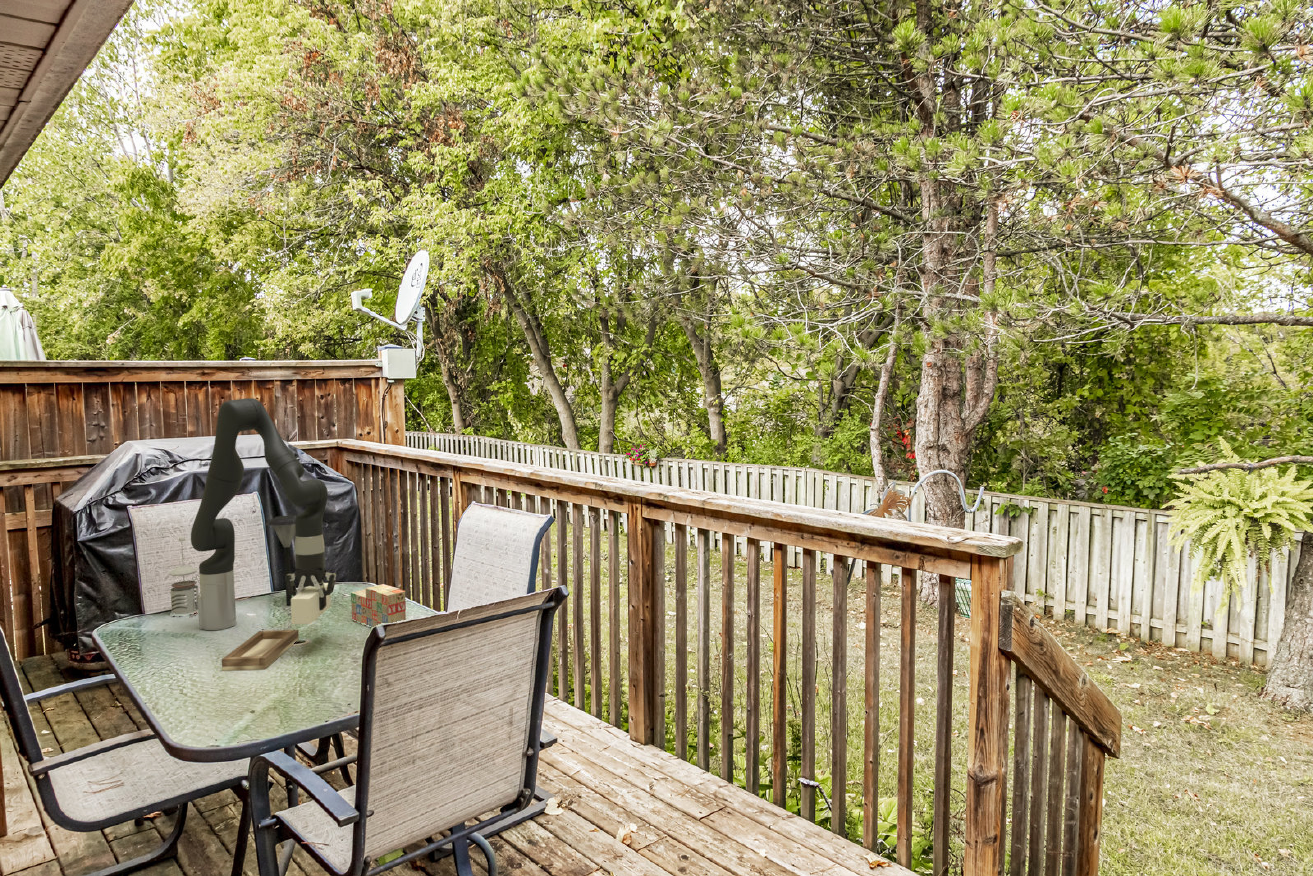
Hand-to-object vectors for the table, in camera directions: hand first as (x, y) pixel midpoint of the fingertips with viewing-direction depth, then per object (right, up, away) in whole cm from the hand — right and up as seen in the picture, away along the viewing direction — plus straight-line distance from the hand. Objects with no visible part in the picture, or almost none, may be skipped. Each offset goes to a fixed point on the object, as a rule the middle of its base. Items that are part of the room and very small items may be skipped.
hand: (311, 609), depth 223 cm
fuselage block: (0, -2, 0) cm, 2 cm away
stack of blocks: (+12, -10, +20) cm, 25 cm away
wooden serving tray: (-11, -11, -5) cm, 17 cm away
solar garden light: (-26, -8, +42) cm, 50 cm away
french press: (-55, -9, +34) cm, 66 cm away
